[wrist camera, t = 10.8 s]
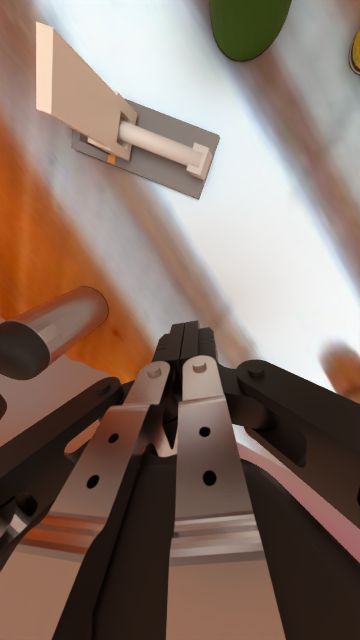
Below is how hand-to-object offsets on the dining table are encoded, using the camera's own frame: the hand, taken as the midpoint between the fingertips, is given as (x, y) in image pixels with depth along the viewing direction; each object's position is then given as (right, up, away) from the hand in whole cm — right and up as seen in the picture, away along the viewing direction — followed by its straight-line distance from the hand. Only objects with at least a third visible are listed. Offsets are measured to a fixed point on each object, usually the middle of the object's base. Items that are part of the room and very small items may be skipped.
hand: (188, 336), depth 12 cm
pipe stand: (-6, +28, +20) cm, 35 cm away
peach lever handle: (-9, +28, +19) cm, 35 cm away
